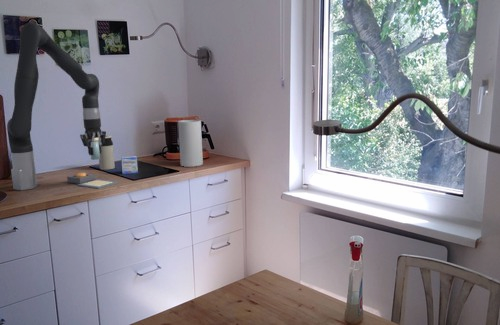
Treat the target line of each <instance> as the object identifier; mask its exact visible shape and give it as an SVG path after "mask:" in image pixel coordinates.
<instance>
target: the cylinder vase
mask: <svg viewBox="0 0 500 325" xmlns="http://www.w3.org/2000/svg"><path fill="white" fill-rule="evenodd" d="M177 124H178V125H177V126H178V140H179V141H178V143H179V157H180V158H179V160H180V161H179V162H180V166H181V167H183V166H184V168H197V167H200V166H203V164H204V159H203V138H202V119H201V120H200V119H182V120H178V121H177ZM196 166H197V167H196Z"/></svg>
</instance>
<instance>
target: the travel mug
mask: <svg viewBox="0 0 500 325" xmlns="http://www.w3.org/2000/svg"><path fill="white" fill-rule="evenodd" d="M98 164H99V169H100V170H102V171H111V170H114V169H115V167H116V166H115V164H116V163H115V153H114V142H113V140H112V135H106V136H105V142H104V144H102V145H101V153H100V159H98Z"/></svg>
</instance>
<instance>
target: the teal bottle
mask: <svg viewBox="0 0 500 325" xmlns="http://www.w3.org/2000/svg"><path fill="white" fill-rule="evenodd" d="M89 140H91V139H89ZM93 153H94V155H90V160H94V161H95V160H99V159H100V152H99V139H98V138H94V142H93Z"/></svg>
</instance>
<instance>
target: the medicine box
mask: <svg viewBox="0 0 500 325" xmlns="http://www.w3.org/2000/svg"><path fill="white" fill-rule="evenodd" d="M120 158H121V160H120V161H121V171H122V173H121V174H122V175H127V174H128V175H129V174H131V175H132V174H139V171H138V157H137V155H134V156H122V157H120Z"/></svg>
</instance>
